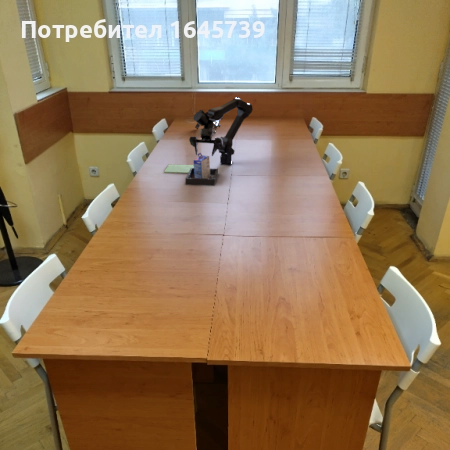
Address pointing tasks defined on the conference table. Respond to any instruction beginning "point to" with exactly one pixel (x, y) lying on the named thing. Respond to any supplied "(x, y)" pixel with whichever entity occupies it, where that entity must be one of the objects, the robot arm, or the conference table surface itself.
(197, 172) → the ink cartridge box
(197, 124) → the tablet mount
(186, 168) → the mat
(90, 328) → the conference table surface
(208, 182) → the black square frame
